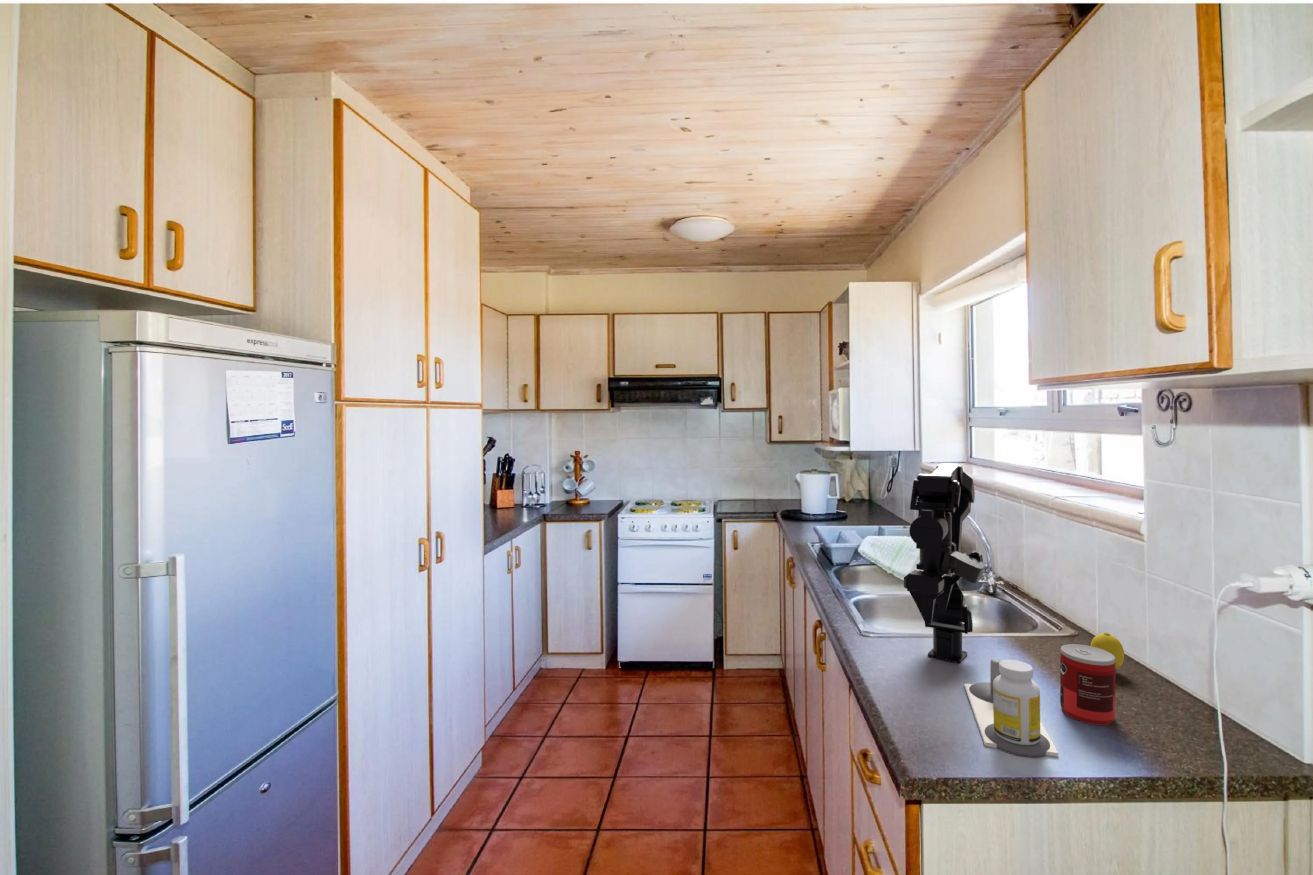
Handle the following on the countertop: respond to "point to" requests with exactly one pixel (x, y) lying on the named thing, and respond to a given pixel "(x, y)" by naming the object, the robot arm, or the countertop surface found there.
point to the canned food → (1087, 684)
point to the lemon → (1109, 646)
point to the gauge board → (984, 716)
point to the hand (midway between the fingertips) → (935, 616)
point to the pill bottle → (1016, 703)
